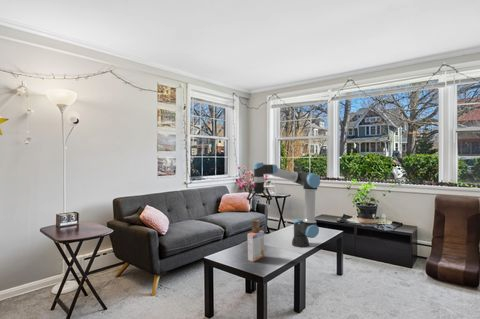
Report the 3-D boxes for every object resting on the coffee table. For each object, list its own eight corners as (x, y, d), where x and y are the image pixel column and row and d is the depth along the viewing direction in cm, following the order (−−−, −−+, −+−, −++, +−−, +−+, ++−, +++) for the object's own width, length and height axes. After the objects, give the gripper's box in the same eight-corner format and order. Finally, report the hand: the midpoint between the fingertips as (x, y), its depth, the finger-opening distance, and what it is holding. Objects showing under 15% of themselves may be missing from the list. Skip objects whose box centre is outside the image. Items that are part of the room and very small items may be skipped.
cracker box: (258, 255, 234) (258, 229, 234) (264, 257, 230) (264, 230, 230) (247, 260, 224) (247, 233, 224) (253, 262, 220) (253, 234, 220)
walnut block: (259, 231, 229) (259, 219, 228) (258, 233, 224) (258, 221, 224) (253, 231, 230) (253, 219, 230) (252, 232, 225) (252, 221, 225)
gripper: (275, 181, 233) (275, 207, 234) (244, 181, 239) (245, 207, 239) (274, 182, 226) (274, 209, 227) (242, 182, 232) (243, 209, 232)
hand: (259, 208), depth 233 cm, fingers open, 13 cm apart
